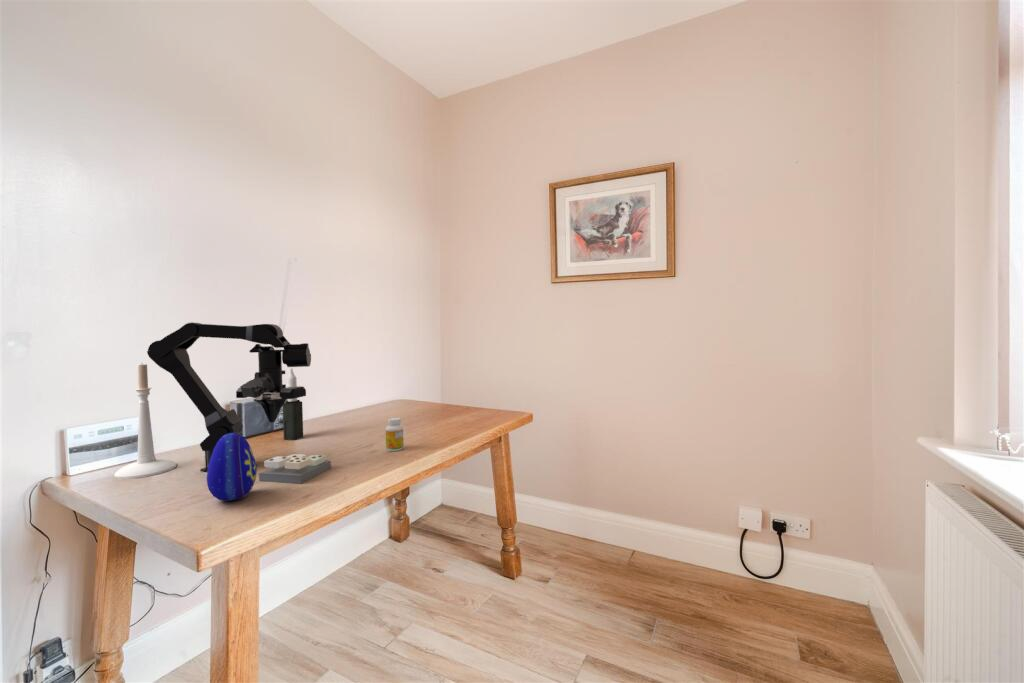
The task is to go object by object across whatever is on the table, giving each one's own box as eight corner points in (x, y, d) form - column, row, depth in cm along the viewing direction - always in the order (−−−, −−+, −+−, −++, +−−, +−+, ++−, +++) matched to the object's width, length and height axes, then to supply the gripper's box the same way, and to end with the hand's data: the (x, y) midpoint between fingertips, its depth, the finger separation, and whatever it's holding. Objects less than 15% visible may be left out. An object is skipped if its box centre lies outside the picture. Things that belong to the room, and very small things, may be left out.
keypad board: (259, 480, 105) (258, 473, 105) (293, 465, 116) (293, 458, 116) (300, 483, 102) (300, 475, 102) (330, 467, 114) (330, 460, 114)
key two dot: (264, 467, 105) (264, 460, 105) (277, 461, 109) (276, 455, 109) (278, 467, 104) (278, 461, 104) (290, 462, 108) (290, 456, 108)
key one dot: (282, 464, 111) (282, 458, 111) (293, 459, 115) (293, 453, 115) (295, 464, 110) (295, 458, 110) (306, 460, 114) (306, 454, 114)
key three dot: (301, 465, 110) (301, 459, 110) (312, 460, 114) (312, 454, 114) (315, 466, 109) (315, 459, 109) (325, 461, 113) (325, 455, 113)
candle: (282, 439, 145) (279, 368, 144) (292, 436, 150) (290, 367, 149) (295, 440, 144) (292, 369, 143) (304, 436, 149) (302, 367, 148)
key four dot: (284, 468, 104) (284, 461, 104) (296, 462, 108) (296, 456, 108) (299, 469, 103) (299, 462, 103) (310, 463, 107) (310, 457, 107)
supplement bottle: (382, 449, 131) (382, 419, 131) (397, 445, 135) (397, 416, 135) (391, 452, 127) (391, 421, 127) (406, 448, 131) (406, 418, 131)
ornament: (250, 504, 90) (248, 436, 90) (200, 511, 87) (198, 441, 86) (261, 487, 100) (259, 426, 100) (217, 492, 97) (215, 429, 97)
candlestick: (160, 476, 109) (156, 363, 108) (101, 481, 106) (96, 365, 105) (185, 461, 122) (181, 360, 121) (133, 465, 118) (129, 361, 118)
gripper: (217, 370, 112) (219, 427, 112) (277, 370, 108) (278, 430, 108) (251, 366, 122) (253, 419, 123) (306, 367, 119) (308, 420, 119)
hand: (272, 422), depth 118 cm, fingers closed
